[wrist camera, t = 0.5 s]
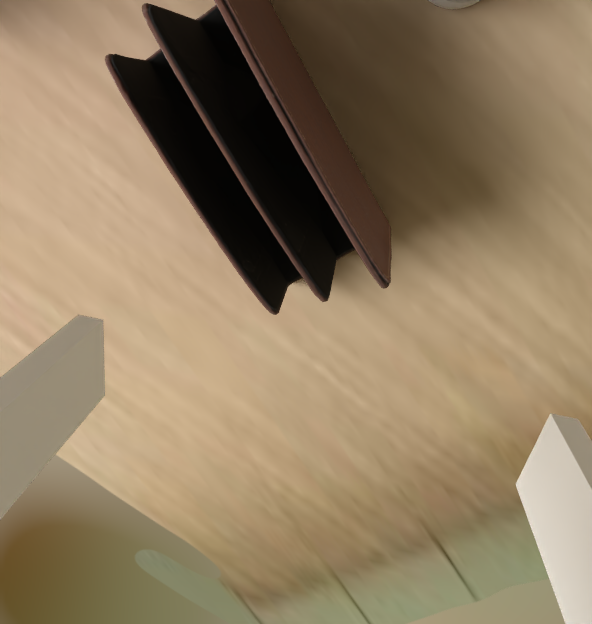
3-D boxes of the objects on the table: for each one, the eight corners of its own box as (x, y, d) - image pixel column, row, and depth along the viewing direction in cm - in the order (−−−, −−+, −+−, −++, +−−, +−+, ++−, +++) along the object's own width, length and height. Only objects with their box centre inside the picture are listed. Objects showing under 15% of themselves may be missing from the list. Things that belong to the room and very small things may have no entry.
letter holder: (257, -25, 33) (187, -95, 20) (392, 227, 39) (403, 295, 26) (147, 62, 36) (26, 49, 23) (286, 283, 42) (250, 367, 29)
